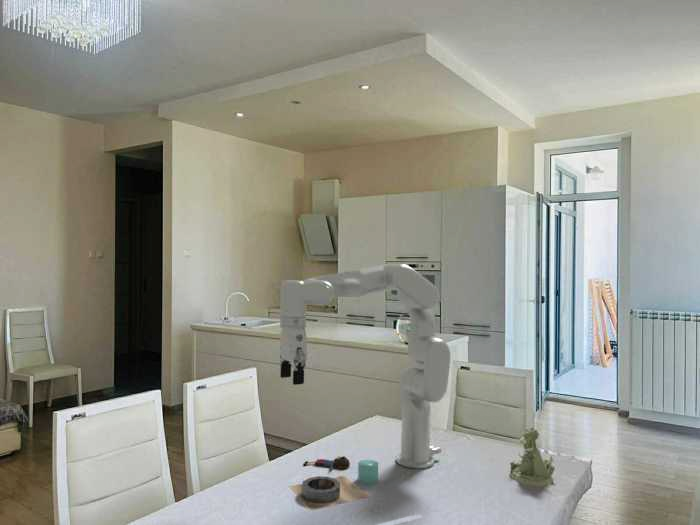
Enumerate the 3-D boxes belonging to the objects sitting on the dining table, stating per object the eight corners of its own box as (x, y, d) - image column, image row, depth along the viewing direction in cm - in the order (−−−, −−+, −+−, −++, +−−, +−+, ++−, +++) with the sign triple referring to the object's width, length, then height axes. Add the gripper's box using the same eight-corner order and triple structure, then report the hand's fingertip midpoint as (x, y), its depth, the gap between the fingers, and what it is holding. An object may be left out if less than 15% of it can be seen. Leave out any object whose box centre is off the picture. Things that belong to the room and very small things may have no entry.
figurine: (562, 478, 166) (563, 430, 166) (545, 491, 157) (546, 440, 157) (519, 465, 176) (520, 420, 176) (500, 477, 166) (502, 429, 166)
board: (343, 478, 162) (343, 475, 162) (370, 500, 148) (370, 496, 148) (288, 489, 154) (289, 486, 154) (311, 513, 140) (311, 509, 140)
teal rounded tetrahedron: (371, 478, 163) (371, 458, 163) (381, 485, 158) (382, 465, 158) (354, 481, 161) (354, 461, 160) (364, 489, 155) (364, 468, 155)
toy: (298, 478, 165) (345, 479, 162) (297, 462, 165) (344, 464, 162) (310, 461, 179) (354, 462, 176) (309, 447, 179) (353, 448, 176)
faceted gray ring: (329, 484, 156) (329, 474, 156) (346, 498, 146) (346, 487, 146) (296, 491, 151) (296, 480, 151) (311, 506, 141) (311, 495, 141)
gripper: (317, 325, 150) (315, 385, 150) (293, 318, 165) (292, 373, 165) (292, 326, 146) (291, 388, 146) (270, 319, 162) (269, 375, 162)
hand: (291, 380), depth 156 cm, fingers open, 9 cm apart
